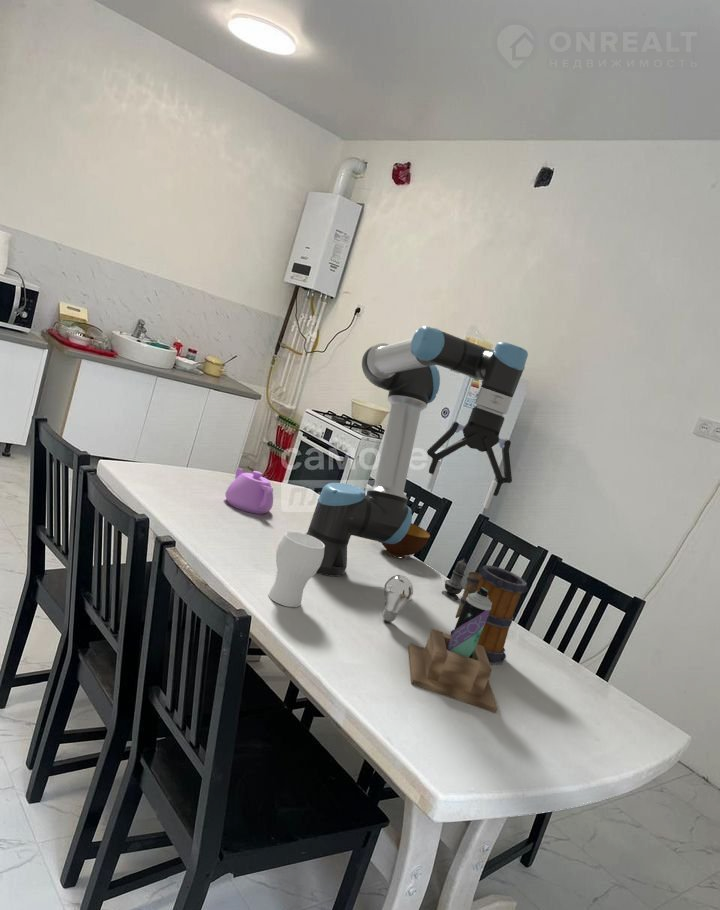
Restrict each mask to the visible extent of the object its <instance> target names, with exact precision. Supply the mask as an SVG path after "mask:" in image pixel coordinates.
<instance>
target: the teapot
mask: <svg viewBox="0 0 720 910" xmlns="http://www.w3.org/2000/svg"><path fill="white" fill-rule="evenodd" d="M235 472H236V473H235V476H234V480H233V481H232V482H230V484H229V486H228V487H227V489H226V491H225V499H226V501H227V503H228V504H229V505H230V506H232V507H234V508H236V509H238V510H241V511H244V512H247V513H251V514H255V515H256V514H257V515H264V514H266V513H268V512H269V511H270V510H272V508H273V505H274V493H273V492H274V487H272V484H271V482H270V480H269V479H268V478H266V477H263V476H262V475H263V473H262V472H260V471H257V470H253V471H252V473H251V472H244V469H242V468H240V467H237V468H236V471H235Z"/></svg>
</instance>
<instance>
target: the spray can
mask: <svg viewBox="0 0 720 910" xmlns="http://www.w3.org/2000/svg"><path fill="white" fill-rule="evenodd" d="M487 592H488V590H487V589H486V588H484V587H480V589H479V591H476V592H475V593H470V594H468V597H467V598H466V600H465V603H464V605H463V608H462V611H461V613H460V616H459V617H458V618H457V621H456V624H455V626H454V629H453V630H454V632H453V634H452V637H451V639H450V642H449V645H448V647H447V650H448V651H451V652H454V653H457V654H460V655H463V656H466V657H469V658H471V659H472V656H473V654H474V651H475V648H476V646H477V643H478V641H479V638H480V636H481V633H482V630H483V628H484V625H485V623H486V620H487V618H488V615H489V612H490V610H491V606H492V602H491V601H490V600H489V599H488V594H487Z"/></svg>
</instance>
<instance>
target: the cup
mask: <svg viewBox="0 0 720 910" xmlns="http://www.w3.org/2000/svg"><path fill="white" fill-rule="evenodd" d="M276 548H277V549H276V554H275V564H276V569H277V571H276V575H275V581H274V582H273V584H272V586H271V588H270V590H269V592H268V597H269V599H270V600H272V601H273V602H275V603H276V604H279V605H282V606H285V607H287V608H289V607H290V608H297V607H300V606H301V604H302V600H303V593H304V589H305V588H306V585H307V583H308V581H309V580H310V579H311V578H312V577H314V576H315V574H316V573H317V570H318V569H319V567H320V566H321V563H322V560H323V557H324V548H325V545H324V544H323V543H322V542H321V541H320V540H318V539H316V538H315V537H312V536H310V535H307V534H306V533H303V532H300V531H294V530H289V531H286V532H285V533H284V534H283V536H282V537H281V540H280V541H279V542H278V545H277V547H276Z"/></svg>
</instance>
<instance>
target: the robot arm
mask: <svg viewBox="0 0 720 910" xmlns="http://www.w3.org/2000/svg"><path fill="white" fill-rule="evenodd" d="M528 357H529V353H528V351H527V350H526V349H525V348H523V347H520V346H517V345H515V344H512V343H509V342H505V341H499V342H497V343H496V345H495V347H494V349H491V348H490V349H489V348H487V347H484V346H482V345H479V344H476V343H474V342H471V341H468V340H466V339H462V338H460V337H459V336H455V335H453V334H450V333H447V332H445V331H442V330H440V329H439V328H436V327H435V328H434V327H430V326H427V325H423V326H421V327H419V328H418V329H417V330H416V331H415V332H414V334H413V336H412V338H409V339H408V338H407V339H405V340H402V341H398V342H395V343H390V344H389V343H378V344H374V345H372V346H370V347H369V348H368V349H367V350H366V351H365V352H364V354H363V356H362V358H361V359H362V360H361V368H362V373H363V374H364V376H365V378H366V379H367V380H368V381H369V382H370V384H373V385H374V386H376V387H378V388H380V389H382V390H385V391H388V396H387V401H388V402H389V404H390V405H391V406H390V411H389V415H388V419H387V424H386V430H385V434H384V438H383V442H382V448H381V452H380V457H379V462H378V465H377V466H378V467H377V470H376V474H375V479H374V485H372V487H370V488H368V489H367V492H366V491H365V490H364V489H363V488H361V487H359V486H356V485H352V484H349V483H343V482H330V483H327V484H325V485H324V486H323V487H322V490H321V491H320V492H321V493H320V495H319V496H318V497H317V503H316V506H315V509H314V511H313V515H312V517H311V520H310V523H309V527H308V530H307V532H306V533H305V534H307V535H310V536H312V537H315V538H316V539H318V540H320V541H321V542H322V543H323V544H324V545H325V548H324V557H323V560H322V563H321V566H320V567H319V569H318V570H317V572H316V573H317V574H321V575H324V576H331V577H338V576H339V577H340V576H343V575H345V573H346V570H347V566H348V545H349V542H350V539H351V536H354V537H358V538H361V539H366V540H371V541H373V542H378V543H379V544H382V543H388V544H395V543H398V542H399V541H401V540H402V538H403V537H404V536H405V535H406V533H407V532H408V530H409V527H410V525H411V523H412V519H413V514H412V513H413V511H412V509H411V507H409V505H407V503H408V497H407V495H406V494H405V488H406V487H405V486H406V482H407V478H408V477H407V476H408V473H409V468H410V463H411V458H412V454H413V451H414V450H413V449H414V445H415V439H416V436H417V430H418V425H419V420H420V416H421V412H422V411H423V410H425V409H426V408H427V407H428V404H432V402H433V401H434V400H435V399H436V397H437V394H438V393H439V391H440V385H441V374H440V371H439V369H438V367H437V366H439V367H443V368H446V369H449V370H450V371H453V372H457V373H460V374H462V375H464V376H467V377H469V378H471V379H474V380H477V381H478V380H479V381H482V383H481V386H480V389H479V391H478V394H477V397H476V399H475V402H474V404H475V405H476V406H474V407H472V409H471V412H470V415H469V417H468V421H467V423H466V424H465V425H462V424H460V423H459V422H458V421H456V420H455V421H453V422H452V423H451V426H450V428H449V429H448V430H447V431H446V432H444V434H442V436H440V438H438V439H437V441H436V442H434V443H433V444H432V445H431V446H430V447H429V448H428V449H427V450H426V453H427V455H428V456H429V457H430V458H431V462H430V466H429V468H428V473H429V474H431V475H430V476H431V477H430V479H429V481H428V485H427V488H428V490H433V486H434V484H435V481H436V478H437V476H438V474H439V470H440V468H441V465H442V462H441V461H440V460H442V459H443V458H445V457H447V456H449V455H451V454H452V453H454V452H456V451H458V450H459V449H461V448H463V447H465V446H468V447H469V448H470V449H474V450H478V451H479V452H481V453H483V452H486V455H487V458H488V459H489V462H490V465H491V468H492V470H493V475H494V476H495V479H496V480H495V479H492V480H491V483H490V485H489V489H488V492H487V494H486V497H485V499H484V501H483V504H482V507H483V508H484V509H486V510H489V507H490V504H491V502H492V499H493V496H495V497H497V496H498V495H499V493H500V489H501V488H502V486H503V484H511V483H512V482H513V477H512V476H513V475H512V469H511V467H512V466H511V459H510V458H511V457H510V447H511V442H512V441H511V440H510V439H508V438H505V439H504V438H500V432H501V429H502V427H503V424H504V423H505V417H504V415H507V414H508V411H509V408H510V405H511V402H512V400H513V397H514V395H515V392H516V390H517V388H518V385H519V382H520V380H521V377H522V375H523V372H524V370H525V367H526V366H525V365H526V363H527V359H528ZM460 431H462V433H463V437H462V438H460V439H458V440H457V441H456V442H454V443H453V444H451V445H449V446H448V447H446V448H444V449H442V450H440V451H439V452H438V450H439V449H440V448H441V447H442V446H443V445H444V444H445V443H446V442H448V440H450V439H451V438H452V437H453V436H454V435H455V434H456V433H459V432H460ZM497 444H499V448H500V449H501V455H502V465H503V473H504V476H503V475H502V474H503V473H502V472H501V469H500V467H499V464H498V461H497V458H496V456H495V453H494V449H493V447H494V446H495V445H497ZM436 452H437V453H436Z"/></svg>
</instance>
